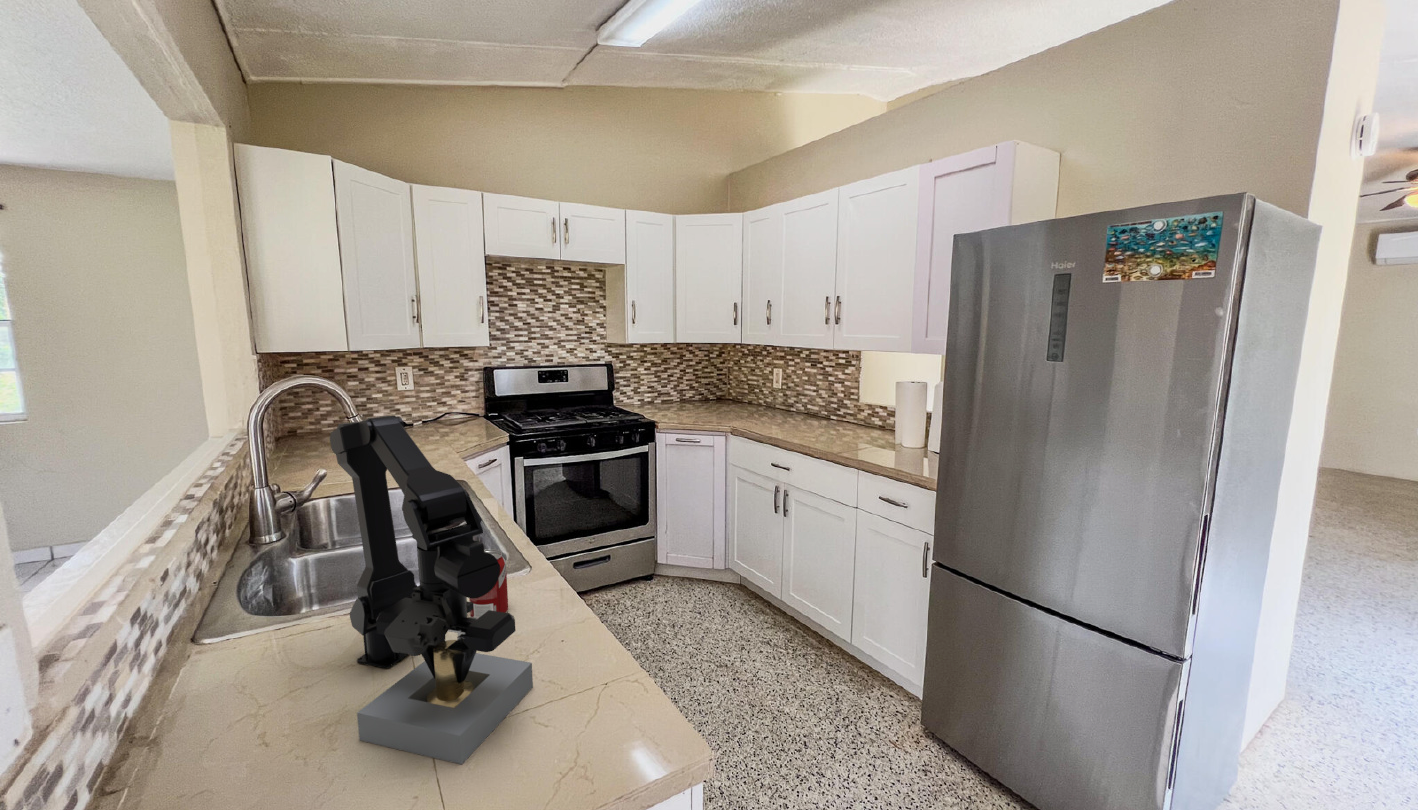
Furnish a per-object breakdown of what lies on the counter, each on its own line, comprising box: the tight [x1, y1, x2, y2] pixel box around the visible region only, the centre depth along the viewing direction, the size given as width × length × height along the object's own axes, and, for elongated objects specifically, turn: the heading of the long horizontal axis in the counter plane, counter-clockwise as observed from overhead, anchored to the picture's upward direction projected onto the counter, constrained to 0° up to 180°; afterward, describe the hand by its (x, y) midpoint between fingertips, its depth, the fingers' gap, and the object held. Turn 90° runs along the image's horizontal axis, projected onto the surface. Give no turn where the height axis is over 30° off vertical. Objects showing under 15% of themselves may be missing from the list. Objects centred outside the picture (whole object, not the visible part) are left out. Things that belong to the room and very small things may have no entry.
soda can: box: [468, 549, 509, 617], centre depth 108 cm, size 7×7×12 cm
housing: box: [356, 652, 534, 765], centre depth 81 cm, size 16×16×4 cm
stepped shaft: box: [427, 639, 474, 708], centre depth 81 cm, size 6×6×10 cm
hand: (449, 679), depth 81 cm, fingers closed on stepped shaft, 4 cm apart
